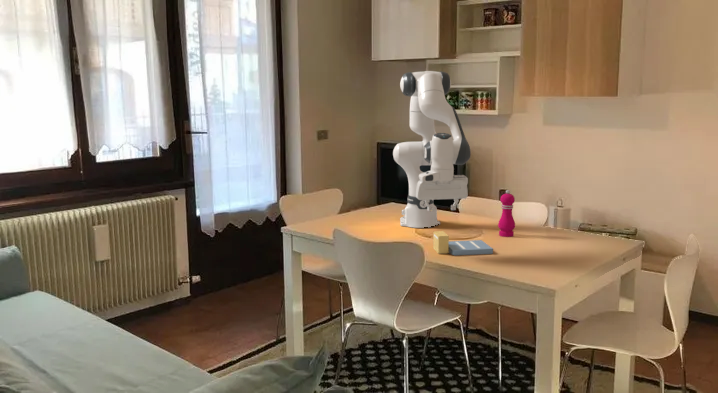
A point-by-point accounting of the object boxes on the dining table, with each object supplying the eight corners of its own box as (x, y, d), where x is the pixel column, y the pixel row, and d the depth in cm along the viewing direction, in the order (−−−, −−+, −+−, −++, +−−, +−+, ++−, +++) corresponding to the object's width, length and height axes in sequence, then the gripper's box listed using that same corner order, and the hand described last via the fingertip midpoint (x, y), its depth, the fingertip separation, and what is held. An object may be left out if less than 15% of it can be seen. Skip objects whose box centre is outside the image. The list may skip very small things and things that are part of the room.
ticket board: (441, 246, 270) (441, 241, 270) (481, 244, 272) (481, 239, 272) (451, 255, 256) (451, 250, 256) (492, 253, 259) (492, 248, 258)
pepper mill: (494, 234, 290) (496, 189, 287) (508, 232, 293) (510, 188, 289) (503, 237, 284) (505, 191, 280) (518, 236, 286) (519, 190, 282)
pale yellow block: (433, 248, 266) (433, 231, 265) (443, 248, 267) (443, 231, 266) (438, 253, 259) (438, 236, 257) (448, 253, 259) (448, 235, 258)
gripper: (465, 173, 262) (464, 207, 264) (414, 174, 259) (414, 209, 261) (470, 175, 256) (469, 210, 258) (418, 177, 253) (418, 212, 255)
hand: (441, 210), depth 260 cm, fingers open, 8 cm apart
